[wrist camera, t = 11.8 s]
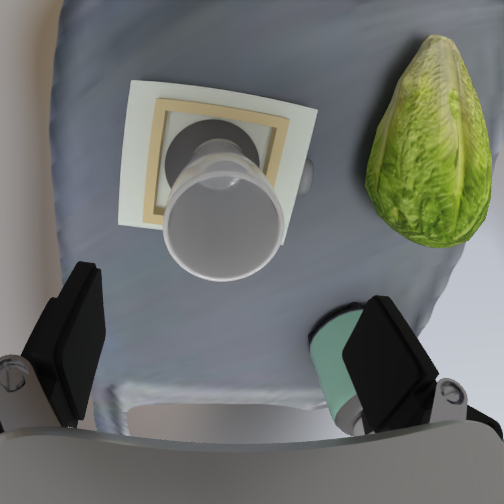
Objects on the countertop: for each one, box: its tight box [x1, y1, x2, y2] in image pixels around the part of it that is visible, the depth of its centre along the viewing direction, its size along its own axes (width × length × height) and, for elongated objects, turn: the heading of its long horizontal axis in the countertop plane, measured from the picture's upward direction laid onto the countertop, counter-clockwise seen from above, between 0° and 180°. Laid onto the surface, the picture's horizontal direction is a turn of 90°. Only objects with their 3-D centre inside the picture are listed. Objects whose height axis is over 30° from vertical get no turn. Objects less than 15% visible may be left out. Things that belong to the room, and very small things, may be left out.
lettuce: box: [365, 35, 492, 248], centre depth 29 cm, size 15×24×14 cm, turn 174°
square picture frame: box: [118, 80, 318, 245], centre depth 32 cm, size 15×19×6 cm
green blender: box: [308, 302, 375, 436], centre depth 34 cm, size 19×13×35 cm
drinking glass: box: [163, 138, 284, 281], centre depth 24 cm, size 7×7×15 cm
